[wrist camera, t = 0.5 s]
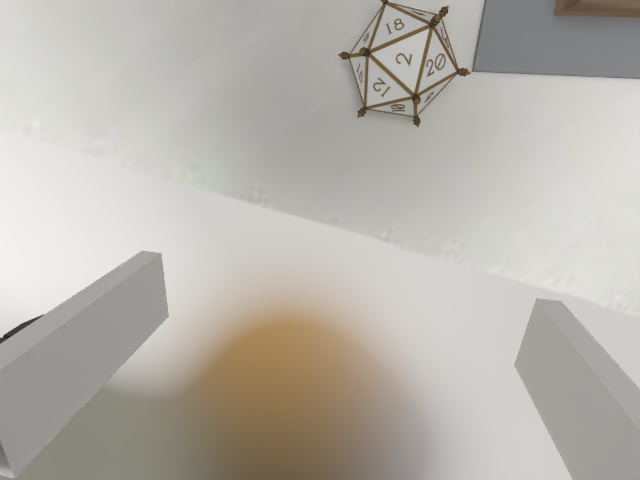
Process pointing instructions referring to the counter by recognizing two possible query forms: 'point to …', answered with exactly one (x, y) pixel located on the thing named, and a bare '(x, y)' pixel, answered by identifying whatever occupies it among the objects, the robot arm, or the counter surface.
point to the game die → (403, 60)
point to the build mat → (555, 41)
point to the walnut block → (598, 8)
